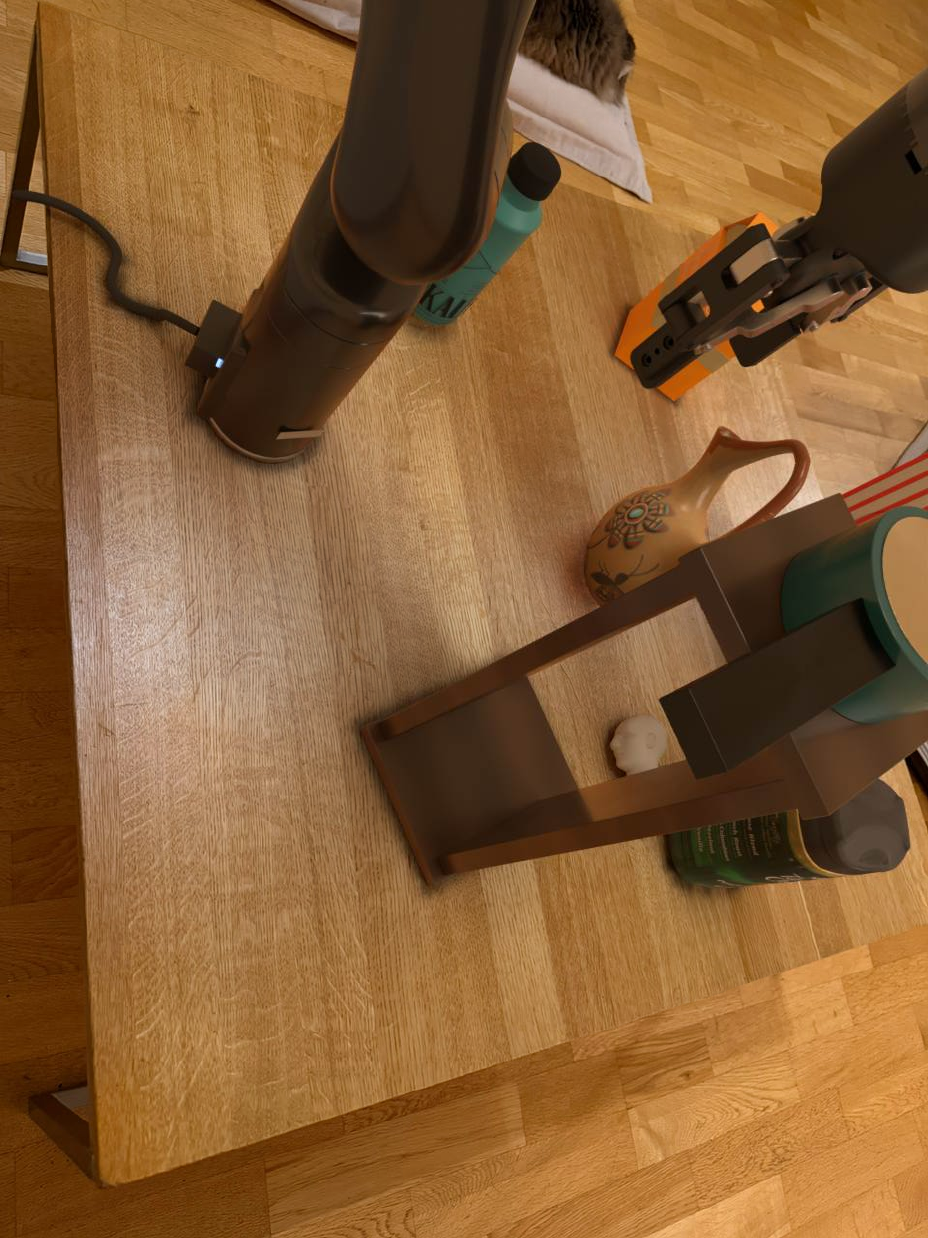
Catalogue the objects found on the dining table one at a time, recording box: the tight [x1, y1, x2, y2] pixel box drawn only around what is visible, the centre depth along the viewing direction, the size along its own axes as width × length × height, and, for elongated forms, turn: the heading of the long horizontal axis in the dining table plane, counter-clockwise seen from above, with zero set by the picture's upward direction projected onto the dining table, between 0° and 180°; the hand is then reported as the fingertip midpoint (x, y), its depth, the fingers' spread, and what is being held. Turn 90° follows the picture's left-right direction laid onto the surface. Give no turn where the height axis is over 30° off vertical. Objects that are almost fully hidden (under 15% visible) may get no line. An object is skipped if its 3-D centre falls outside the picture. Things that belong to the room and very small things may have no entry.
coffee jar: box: [668, 778, 912, 889], centre depth 78 cm, size 10×8×19 cm
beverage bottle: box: [412, 141, 562, 327], centre depth 81 cm, size 6×7×20 cm
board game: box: [841, 451, 928, 525], centre depth 86 cm, size 20×6×27 cm, turn 5°
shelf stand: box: [359, 492, 928, 887], centre depth 61 cm, size 16×13×37 cm
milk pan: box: [658, 506, 928, 780], centre depth 40 cm, size 20×9×5 cm, turn 118°
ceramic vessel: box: [583, 425, 812, 607], centre depth 80 cm, size 16×9×25 cm, turn 167°
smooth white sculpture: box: [609, 714, 669, 776], centre depth 83 cm, size 4×8×5 cm
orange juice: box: [614, 211, 780, 402], centre depth 96 cm, size 8×9×20 cm
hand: (691, 362), depth 51 cm, fingers open, 8 cm apart
